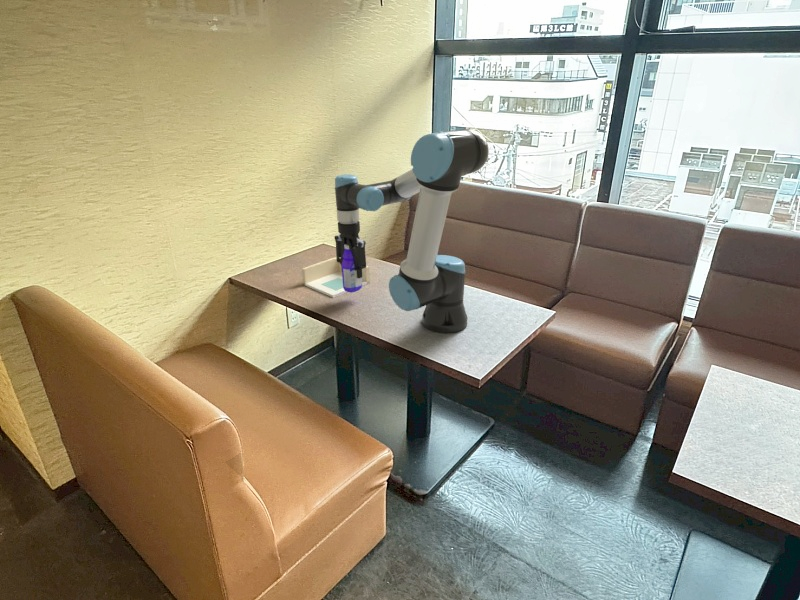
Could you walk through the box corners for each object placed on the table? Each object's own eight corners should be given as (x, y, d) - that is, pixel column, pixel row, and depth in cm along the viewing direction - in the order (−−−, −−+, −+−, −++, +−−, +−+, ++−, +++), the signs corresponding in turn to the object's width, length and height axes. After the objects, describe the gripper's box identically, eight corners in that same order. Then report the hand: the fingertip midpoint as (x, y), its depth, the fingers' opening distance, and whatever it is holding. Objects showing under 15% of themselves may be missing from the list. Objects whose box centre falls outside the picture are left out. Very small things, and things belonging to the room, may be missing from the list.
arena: (369, 282, 201) (369, 266, 198) (333, 297, 188) (332, 280, 185) (339, 271, 212) (338, 255, 209) (303, 284, 199) (301, 268, 196)
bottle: (351, 294, 179) (349, 248, 172) (340, 291, 182) (337, 245, 175) (365, 288, 184) (363, 242, 177) (353, 284, 188) (351, 239, 180)
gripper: (375, 223, 170) (378, 286, 179) (338, 214, 181) (343, 274, 191) (359, 228, 165) (362, 293, 174) (322, 219, 176) (327, 280, 186)
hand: (352, 283), depth 182 cm, fingers closed on bottle, 5 cm apart
